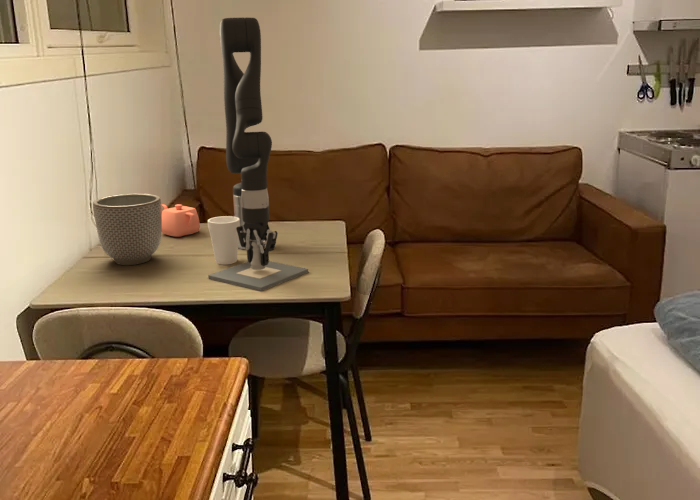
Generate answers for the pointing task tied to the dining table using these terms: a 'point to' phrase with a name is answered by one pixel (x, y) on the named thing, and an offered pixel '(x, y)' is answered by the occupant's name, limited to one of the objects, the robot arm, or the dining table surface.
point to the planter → (129, 226)
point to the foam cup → (224, 238)
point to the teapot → (179, 220)
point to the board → (258, 275)
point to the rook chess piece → (256, 257)
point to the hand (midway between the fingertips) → (258, 263)
